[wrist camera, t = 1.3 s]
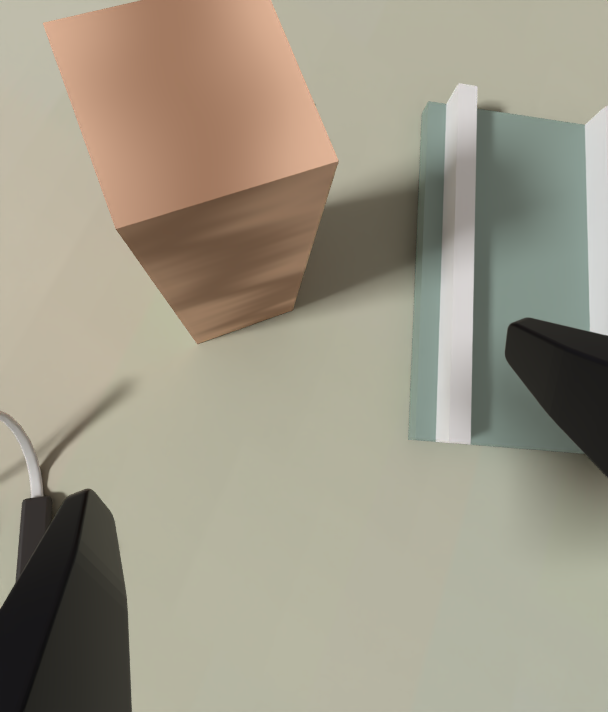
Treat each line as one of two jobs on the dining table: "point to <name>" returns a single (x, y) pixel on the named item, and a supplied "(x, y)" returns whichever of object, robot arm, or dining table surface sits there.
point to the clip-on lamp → (30, 499)
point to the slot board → (501, 263)
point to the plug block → (202, 150)
